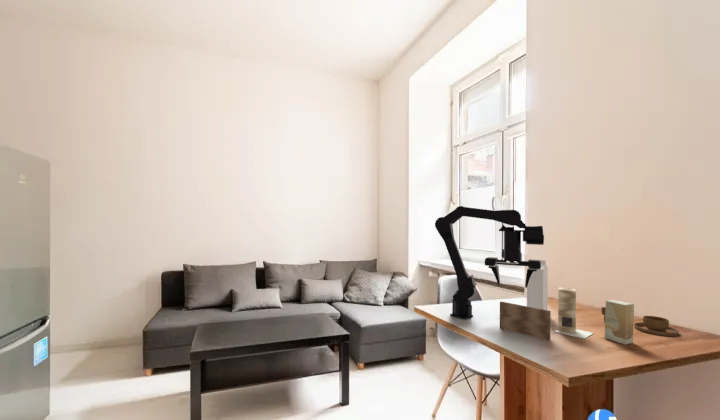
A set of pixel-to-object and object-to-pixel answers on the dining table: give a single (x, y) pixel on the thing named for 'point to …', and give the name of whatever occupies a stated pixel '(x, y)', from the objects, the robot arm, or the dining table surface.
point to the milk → (538, 288)
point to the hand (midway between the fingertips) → (512, 286)
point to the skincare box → (619, 321)
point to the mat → (577, 333)
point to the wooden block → (567, 310)
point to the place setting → (652, 325)
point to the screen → (525, 320)
